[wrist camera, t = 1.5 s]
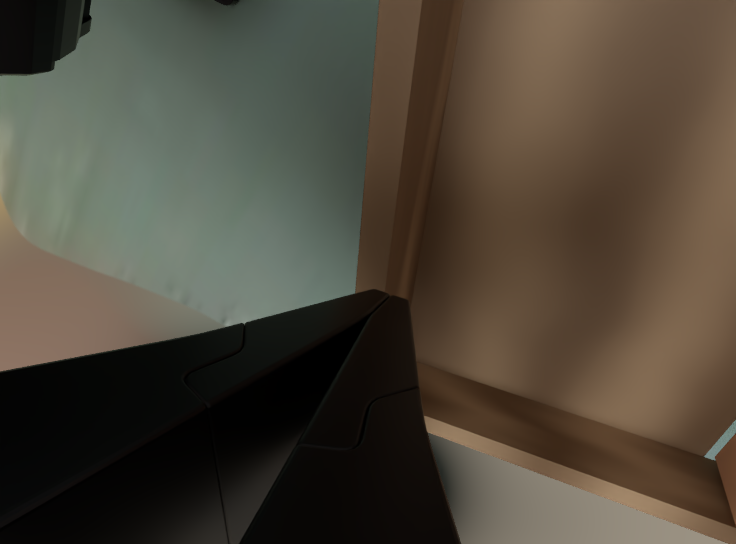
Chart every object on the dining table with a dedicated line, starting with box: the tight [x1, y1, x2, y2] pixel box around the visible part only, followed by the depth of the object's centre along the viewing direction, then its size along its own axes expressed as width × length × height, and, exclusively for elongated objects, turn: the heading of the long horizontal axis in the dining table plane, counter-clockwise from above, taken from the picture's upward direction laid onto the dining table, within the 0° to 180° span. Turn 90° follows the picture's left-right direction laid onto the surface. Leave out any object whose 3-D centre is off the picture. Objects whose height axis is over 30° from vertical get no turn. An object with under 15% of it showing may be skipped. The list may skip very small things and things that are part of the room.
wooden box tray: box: [355, 0, 736, 544], centre depth 15 cm, size 16×23×9 cm
